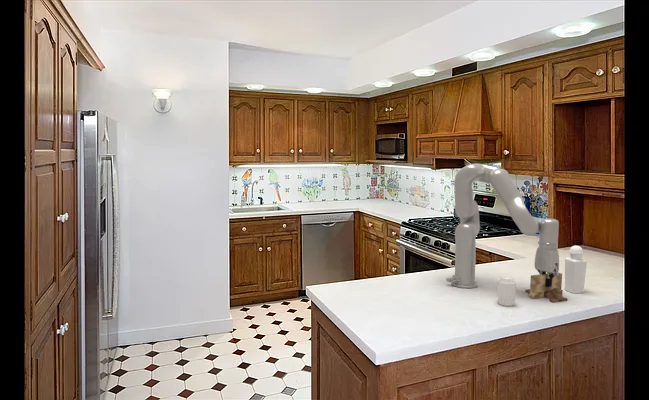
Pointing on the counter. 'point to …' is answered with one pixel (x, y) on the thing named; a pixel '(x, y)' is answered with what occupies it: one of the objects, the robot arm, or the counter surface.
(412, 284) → the counter surface
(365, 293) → the counter surface
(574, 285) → the white tall bottle shape
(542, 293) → the slotted board
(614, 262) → the counter surface
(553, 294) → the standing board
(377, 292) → the counter surface
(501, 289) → the white cup
